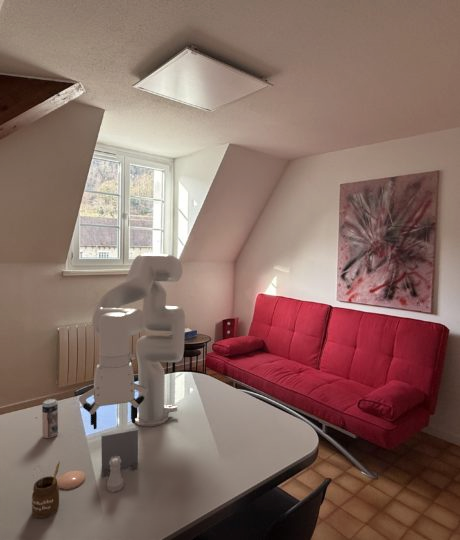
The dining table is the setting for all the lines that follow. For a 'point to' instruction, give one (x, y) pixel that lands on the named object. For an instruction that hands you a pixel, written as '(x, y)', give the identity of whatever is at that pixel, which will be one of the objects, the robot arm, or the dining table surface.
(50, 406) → the beer can
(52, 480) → the utensil holder
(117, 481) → the rook chess piece
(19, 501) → the dining table surface
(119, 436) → the grey upright panel
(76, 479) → the pink round domed part
